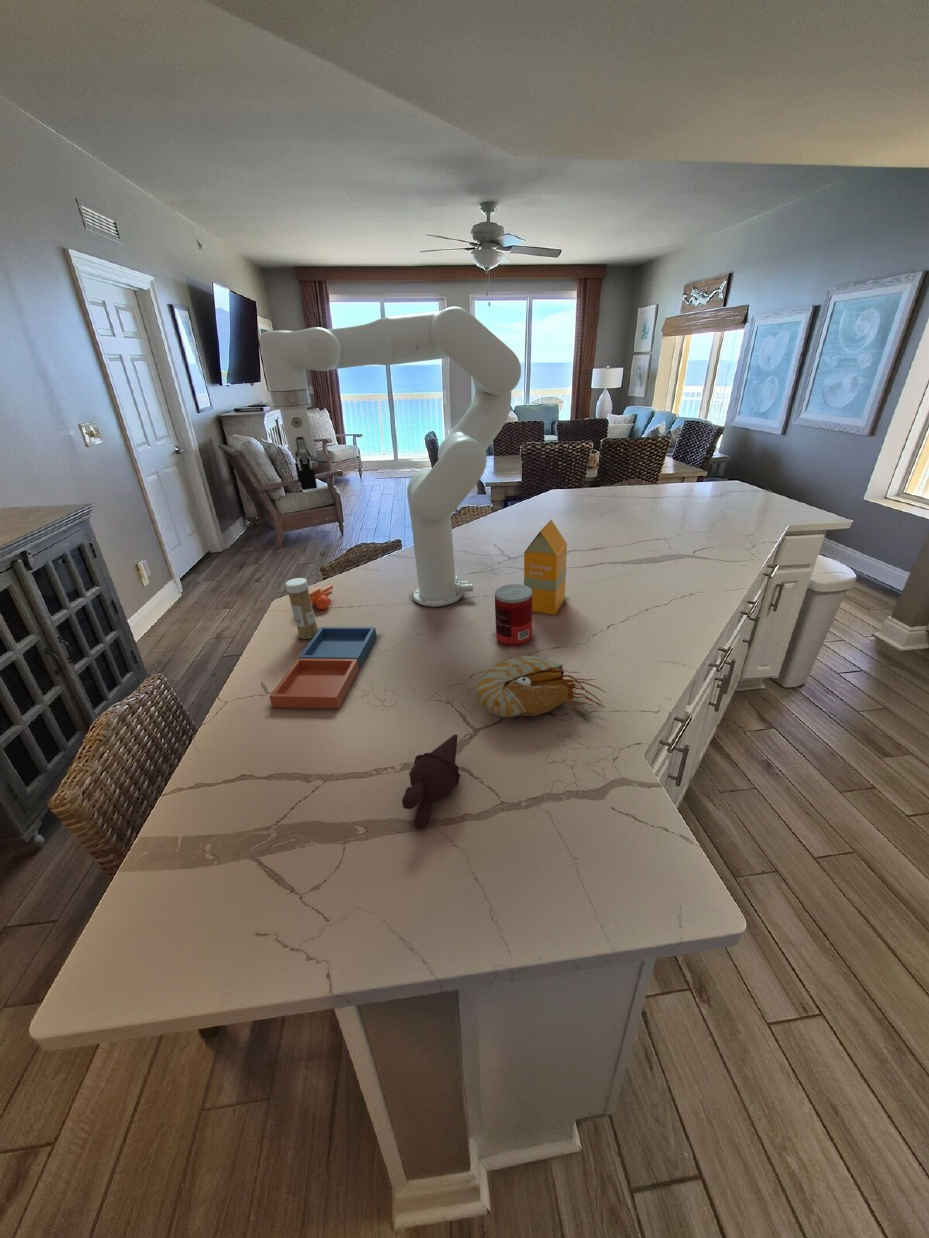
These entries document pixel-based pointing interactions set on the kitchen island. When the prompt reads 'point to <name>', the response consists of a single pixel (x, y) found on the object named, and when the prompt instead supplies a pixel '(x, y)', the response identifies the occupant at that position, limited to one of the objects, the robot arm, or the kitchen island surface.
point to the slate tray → (341, 643)
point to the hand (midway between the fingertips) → (307, 484)
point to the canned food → (513, 614)
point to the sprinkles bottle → (302, 607)
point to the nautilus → (528, 687)
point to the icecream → (432, 780)
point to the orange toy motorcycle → (320, 596)
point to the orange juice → (546, 569)
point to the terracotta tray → (315, 683)
